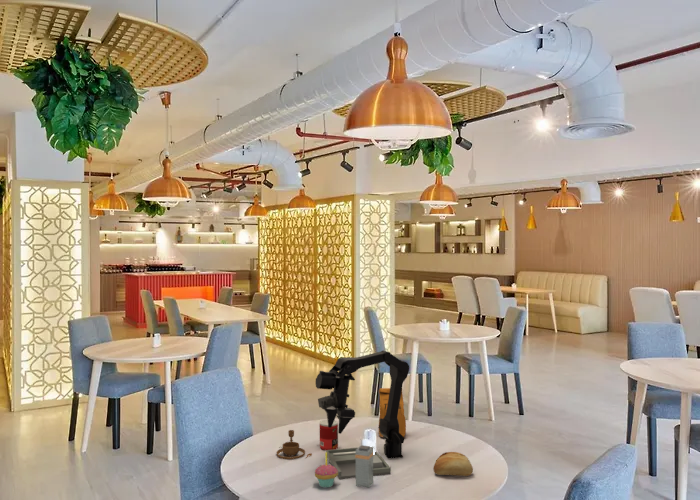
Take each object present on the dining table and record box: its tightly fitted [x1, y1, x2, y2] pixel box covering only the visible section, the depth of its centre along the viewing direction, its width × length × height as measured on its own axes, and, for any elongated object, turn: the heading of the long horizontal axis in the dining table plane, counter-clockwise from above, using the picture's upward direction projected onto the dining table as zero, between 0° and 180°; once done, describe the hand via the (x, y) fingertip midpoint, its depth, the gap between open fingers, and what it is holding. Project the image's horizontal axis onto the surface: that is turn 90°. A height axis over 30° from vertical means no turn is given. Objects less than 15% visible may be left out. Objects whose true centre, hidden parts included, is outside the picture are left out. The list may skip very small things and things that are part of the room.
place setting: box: [276, 429, 313, 461], centre depth 251 cm, size 18×20×6 cm
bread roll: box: [432, 451, 474, 477], centre depth 226 cm, size 10×15×8 cm, turn 92°
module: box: [355, 444, 374, 489], centre depth 217 cm, size 5×5×14 cm
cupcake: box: [314, 451, 338, 488], centre depth 216 cm, size 9×8×12 cm
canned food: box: [319, 419, 339, 451], centre depth 255 cm, size 8×8×11 cm
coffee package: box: [378, 387, 407, 438], centre depth 270 cm, size 10×12×22 cm
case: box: [325, 447, 392, 480], centre depth 236 cm, size 20×26×4 cm
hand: (334, 430), depth 233 cm, fingers open, 9 cm apart
